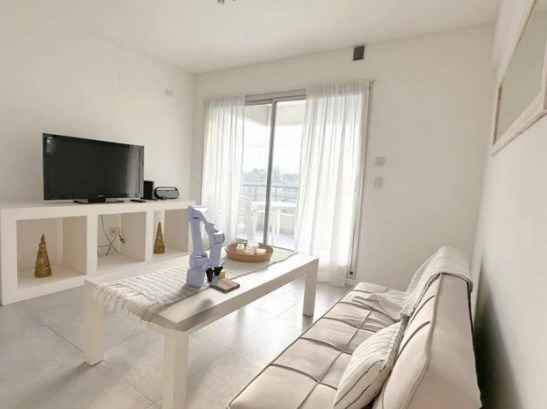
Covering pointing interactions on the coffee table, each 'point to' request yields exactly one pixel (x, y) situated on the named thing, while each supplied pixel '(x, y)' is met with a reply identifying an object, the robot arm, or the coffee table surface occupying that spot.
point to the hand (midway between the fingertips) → (212, 280)
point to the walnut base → (226, 285)
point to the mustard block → (222, 274)
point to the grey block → (214, 280)
